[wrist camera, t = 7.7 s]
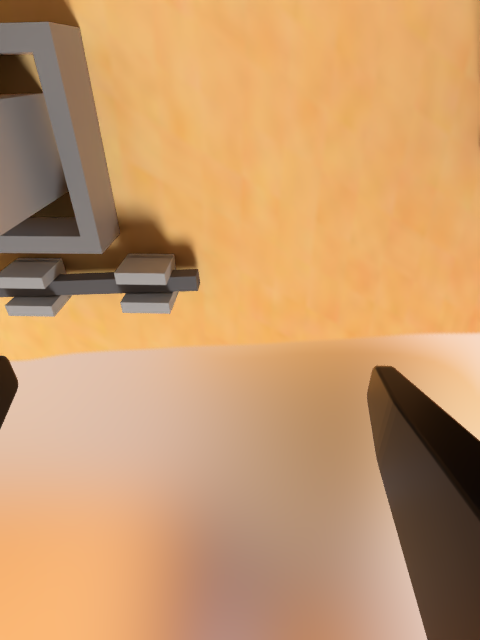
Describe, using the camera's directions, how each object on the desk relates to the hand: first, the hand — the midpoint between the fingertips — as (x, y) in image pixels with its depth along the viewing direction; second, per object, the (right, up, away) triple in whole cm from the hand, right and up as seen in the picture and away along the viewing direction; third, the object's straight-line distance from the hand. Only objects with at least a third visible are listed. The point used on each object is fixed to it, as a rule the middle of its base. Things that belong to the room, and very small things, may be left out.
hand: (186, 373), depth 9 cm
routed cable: (-6, +4, +11) cm, 13 cm away
